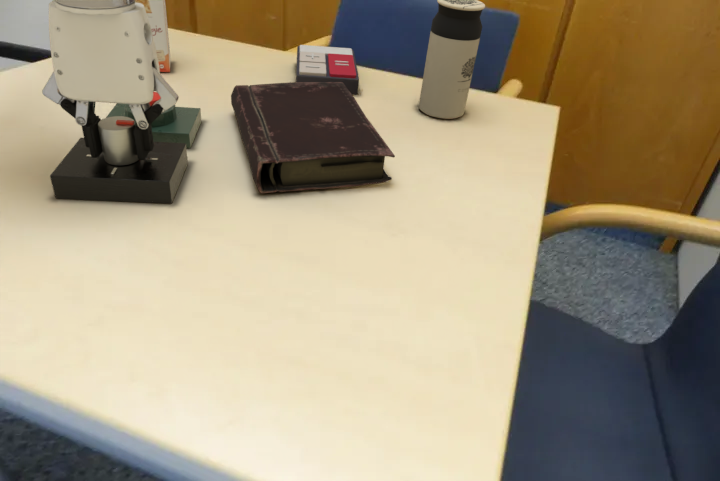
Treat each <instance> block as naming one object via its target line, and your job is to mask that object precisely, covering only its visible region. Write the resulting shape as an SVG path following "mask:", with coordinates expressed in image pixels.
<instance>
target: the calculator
mask: <svg viewBox="0 0 720 481" xmlns="http://www.w3.org/2000/svg"><path fill="white" fill-rule="evenodd" d="M295 70H296V72H295V73H296V74H295V82H343V83H344V85H345V86H346V87H347V89H348V90H349V91H350V93H351V94H352V95H353V96H358V94H359V82H360V78H359V72H358V71H359V70H358V67H357V61H356V56H355V51H354V49H352V48H350V47H336V46H323V45H310V44H308V45H307V44H299V45H297V47H296V68H295Z"/></svg>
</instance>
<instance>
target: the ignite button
mask: <svg viewBox="0 0 720 481" xmlns="http://www.w3.org/2000/svg"><path fill="white" fill-rule="evenodd" d="M160 98H161V97H160V95H159V94H158V93H157V92H156V91H154V92H153V99H152V101H150V102H149V104H150V106H151V105H152V104H153V103H154V102H155V101H158V100H159V99H160Z"/></svg>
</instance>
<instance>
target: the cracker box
mask: <svg viewBox="0 0 720 481" xmlns="http://www.w3.org/2000/svg"><path fill="white" fill-rule="evenodd" d="M135 3H141V4H143V5H144V7H145V10H146V13H147V16H148V19H149V23H150V26H151V30H152V34H153V39H154V43H155V48H156V53H157V58H158V63H159V68H160V73H171V62H172V59H171V46H170V37H169V26H168V17H167V6H166V5H167V4H166V0H135Z"/></svg>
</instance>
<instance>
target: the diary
mask: <svg viewBox="0 0 720 481" xmlns="http://www.w3.org/2000/svg"><path fill="white" fill-rule="evenodd" d="M230 102H231V106H232V109H233V112H234V115H235V118H236V122H237V125H238V130H239V133H240V137H241V140H242V145H243V146H244V149H245V153H246V155H247V158H248V162H249V166H250V170H251V171H250V172H251V174H252V179H253V181H254V184H255V185H256V187H257V190H258V191H259V193H260V194H269V193H277V192H279V193H283V192H284V193H285V192H296V191H309V190H311V191H312V190H323V189H337V188H351V187H360V186H367V185H368V186H369V185H378V184H384V183H386V182H389V181H392V177H391V176H389V175H388V173H387V172H386V171H385V170H384V167H385V159H386V157H390V158H395V156H396V155H395V154H394V153H393V151H392V149H391V148H390V147H389V146H388V144H387V143H386V142H385V140H384V139H383V138H382V136H381V135H380V133H379V132H378V131H377V129H376V128H375V127H374V125H373V124H372V123H371V121H370V120H369V118H368V117H367V116H366V114H365V113H364V111H363V109H362V108H361V106H360V105H359V103H358V101H357V100H356V98H355V96H354V95H352V94H351V93H350V91H349V90H348V89H347V87H346V86H345V85H344V83H343V82H296V81H295V82H291V81H290V82H277V83H276V82H275V83H261V84H250V85H248V84H246V85H245V84H241V85H240V84H237V85H235V86H233V88H232V92H231V94H230Z"/></svg>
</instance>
